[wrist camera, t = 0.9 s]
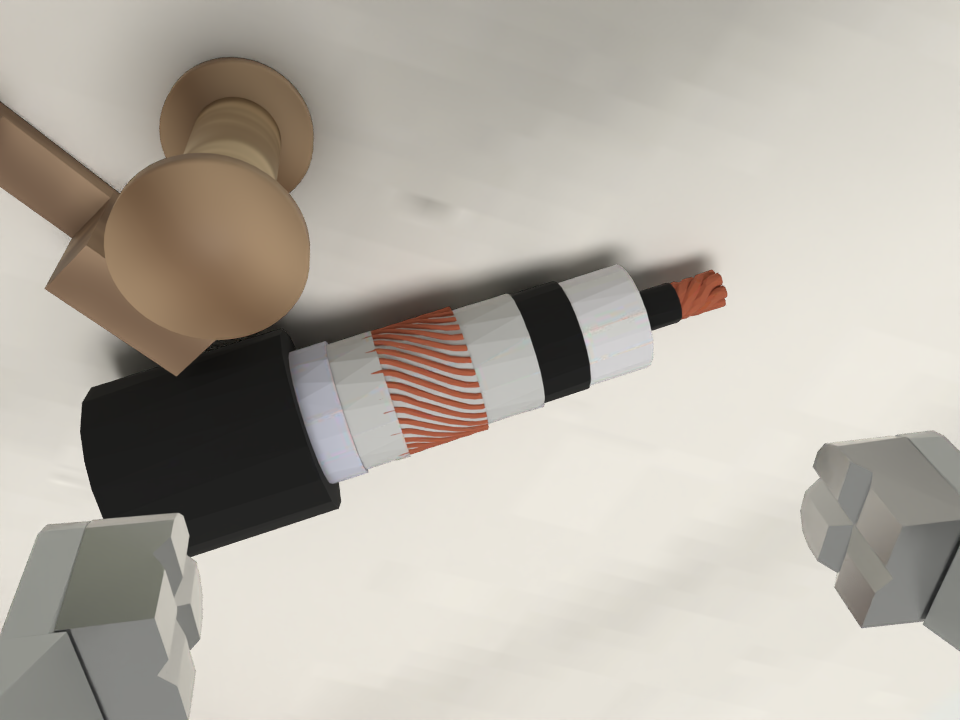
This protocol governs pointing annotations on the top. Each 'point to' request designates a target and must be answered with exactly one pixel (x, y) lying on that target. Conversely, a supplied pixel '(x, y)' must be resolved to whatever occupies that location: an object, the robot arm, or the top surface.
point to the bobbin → (218, 206)
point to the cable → (357, 400)
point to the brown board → (82, 239)
